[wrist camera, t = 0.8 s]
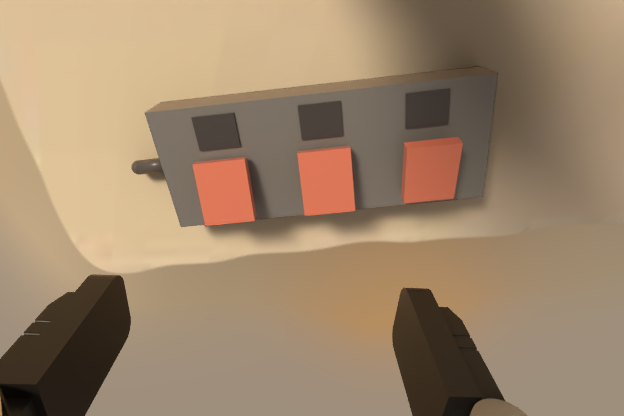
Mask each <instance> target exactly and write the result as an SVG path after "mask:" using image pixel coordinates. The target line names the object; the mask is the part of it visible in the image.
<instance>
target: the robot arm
mask: <svg viewBox="0 0 624 416" xmlns="http://www.w3.org/2000/svg"><path fill="white" fill-rule="evenodd" d="M130 325H131V317H130V312H129V307H128V301H127V296H126V290H125V285H124V281H123V278H122V277H121V276H118V275H90V276H88V277H87V278H86V280H85V281H84V282H83V283H82V284H81V286H80V287H79V288H78V289H77V290H76V291H75V292H67V293H66V294H65V295H63V296H61V297H60V298H58V299H57V300H55V301H54V302H52V303H51V304H49V305H48V306H47V307H46V309H45V310H44V311H43V312H42V313H41V314H40V315H39V316H38V317H37V318H36V319H35V323H32V324H31V325H30V326H29V327H28V328H27V330H26V331H25V332H24V335H23V336H20V338H18V340H17V341H16V342H15V343H14V344H13V345H12V346H11V347H10V349H9V350H8V351H7V352H6V353H5V354H4V355H3V356H2V357H1V359H0V416H85V414H86V412H87V410H88V409H89V407H90V405H91V403H92V401H93V400H94V398H95V396H96V394H97V392H98V391H99V389H100V387H101V385H102V383H103V381H104V379H105V378H106V376H107V374H108V372H109V371H110V368H111V367H112V365H113V363H114V361H115V360H116V358H117V356H118V354H119V353H120V350H121V349H122V347H123V345H124V343H125V341H126V339H127V337H128V334H129V331H130ZM393 347H394V351H395V355H396V358H397V362H398V365H399V369H400V372H401V376H402V380H403V383H404V387H405V390H406V394H407V397H408V401H409V404H410V408H411V411H412V415H413V416H527V415H526V414H525V413H524V412H523V411H521V410H520V409H519V408H517V407H515V406H514V405H512V404H510V403H508V402H506V401H505V400H504V398H503V396H502V394H501V392H500V390H499V389H498V387H497V385H496V383H495V381H494V379H493V378H492V376H491V374H490V372H489V370H488V368H487V366H486V364H485V363H484V361H483V359H482V357H481V355H480V353H479V352H478V351H477V349H476V346H475V344H474V342H473V340H472V339H471V338H470V335H469V333H468V331H467V329H466V327H465V325H464V324H463V322H462V320H461V319H460V318H459V317H458V316H457V315H455V314H454V313H453V312H452V311H451V310H450V309H449V308H448V307H439V306H438V304H437V302H436V300H435V298H434V296H433V294H432V292H431V290H429V289H420V288H403V289H402V290H401V294H400V298H399V302H398V307H397V312H396V317H395V321H394V325H393Z"/></svg>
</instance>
